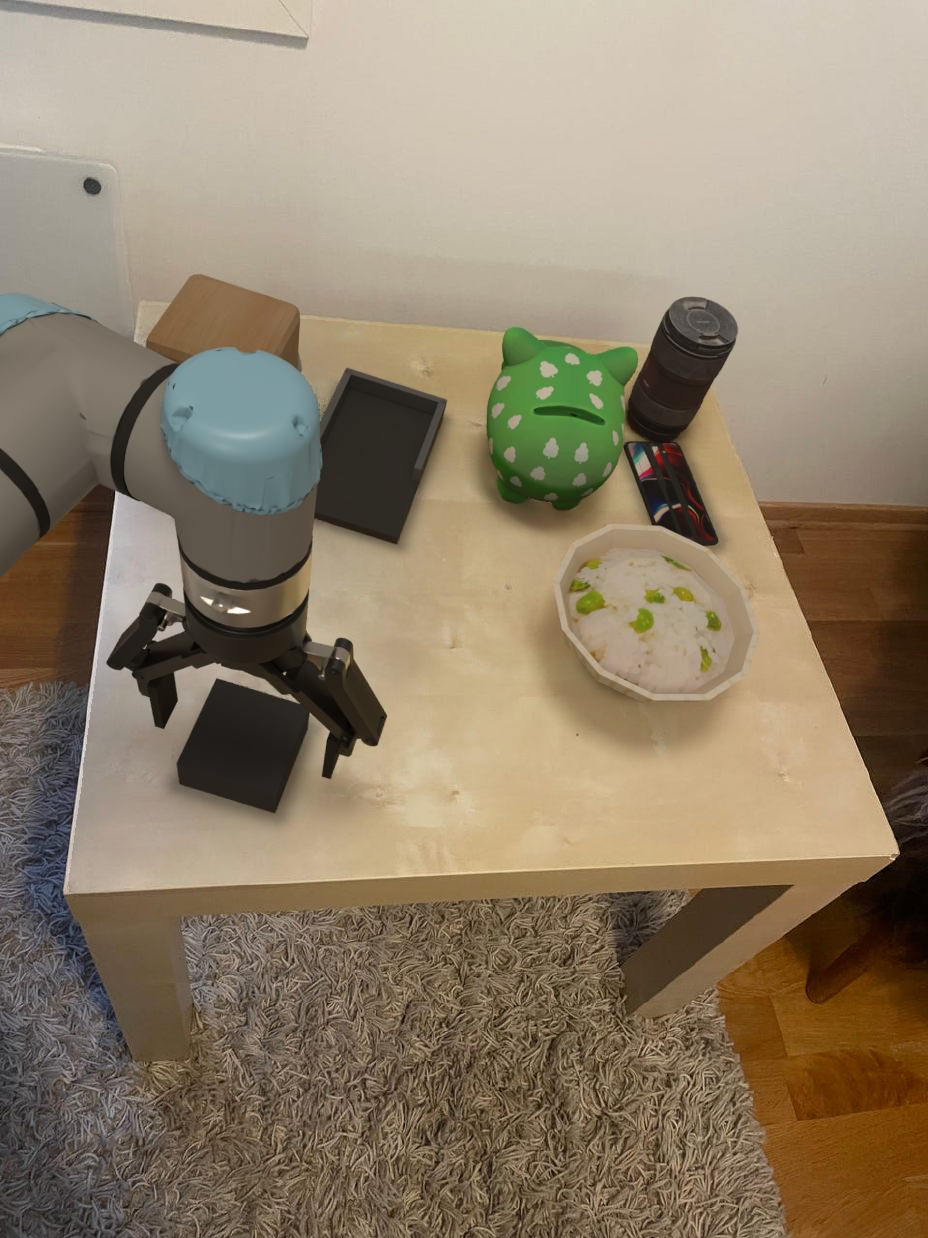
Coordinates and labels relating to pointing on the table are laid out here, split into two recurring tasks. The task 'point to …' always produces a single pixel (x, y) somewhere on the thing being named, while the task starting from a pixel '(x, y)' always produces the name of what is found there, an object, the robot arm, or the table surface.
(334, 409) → the black tray
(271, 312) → the wooden block
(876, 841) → the table surface
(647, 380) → the camera lens
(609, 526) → the bowl
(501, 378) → the piggy bank
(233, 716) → the foam pad
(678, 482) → the smartphone
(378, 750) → the table surface
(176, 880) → the table surface
